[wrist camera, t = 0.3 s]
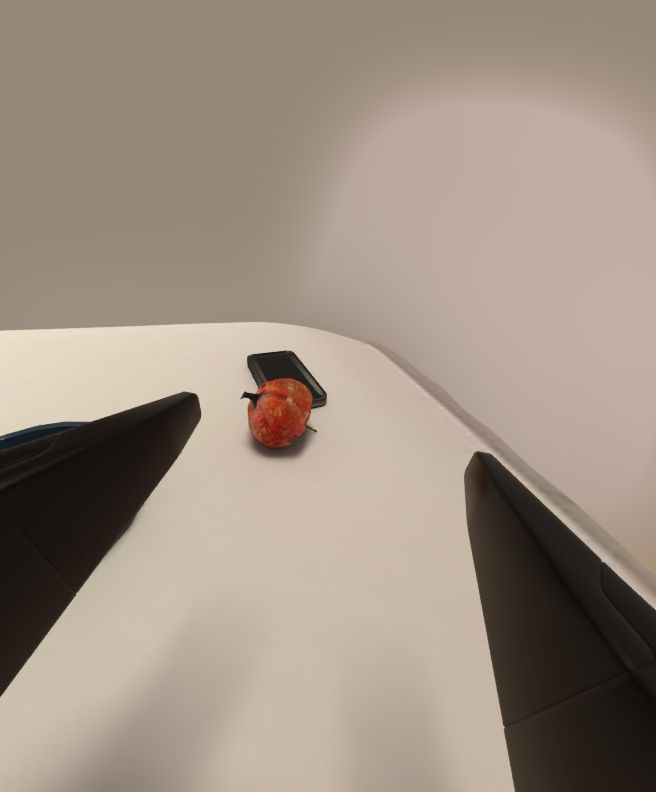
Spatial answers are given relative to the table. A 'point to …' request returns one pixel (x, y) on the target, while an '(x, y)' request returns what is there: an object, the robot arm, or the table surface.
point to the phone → (285, 372)
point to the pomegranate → (279, 411)
